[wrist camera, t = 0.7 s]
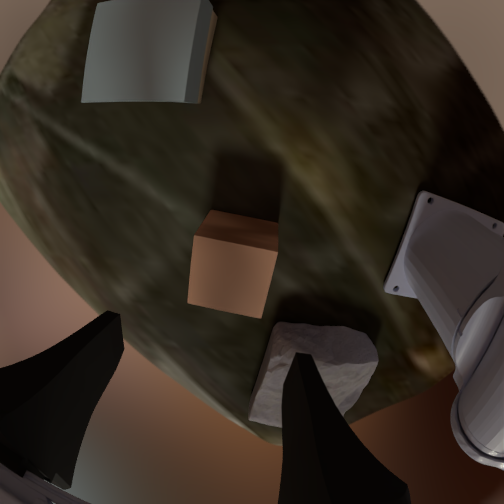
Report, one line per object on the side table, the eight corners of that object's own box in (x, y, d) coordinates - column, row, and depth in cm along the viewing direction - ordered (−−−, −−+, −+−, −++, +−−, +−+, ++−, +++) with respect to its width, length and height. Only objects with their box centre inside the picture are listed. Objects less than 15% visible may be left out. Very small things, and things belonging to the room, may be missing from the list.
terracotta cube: (278, 222, 20) (278, 252, 16) (264, 280, 22) (260, 318, 18) (211, 209, 20) (194, 235, 16) (203, 267, 22) (187, 303, 18)
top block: (213, 6, 12) (202, -9, 10) (197, 103, 15) (184, 101, 13) (118, 13, 12) (97, 3, 10) (104, 102, 15) (81, 102, 13)
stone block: (373, 315, 25) (264, 314, 23) (396, 354, 21) (275, 361, 19) (330, 393, 30) (242, 397, 29) (342, 428, 26) (247, 437, 25)
